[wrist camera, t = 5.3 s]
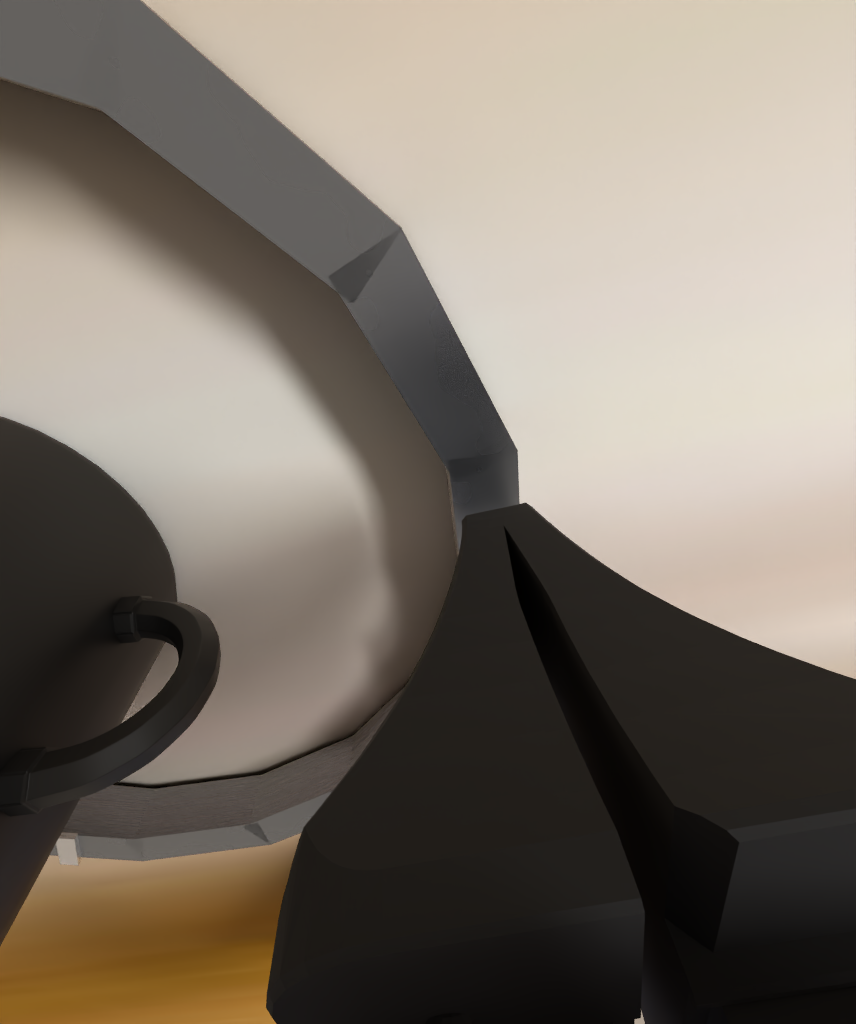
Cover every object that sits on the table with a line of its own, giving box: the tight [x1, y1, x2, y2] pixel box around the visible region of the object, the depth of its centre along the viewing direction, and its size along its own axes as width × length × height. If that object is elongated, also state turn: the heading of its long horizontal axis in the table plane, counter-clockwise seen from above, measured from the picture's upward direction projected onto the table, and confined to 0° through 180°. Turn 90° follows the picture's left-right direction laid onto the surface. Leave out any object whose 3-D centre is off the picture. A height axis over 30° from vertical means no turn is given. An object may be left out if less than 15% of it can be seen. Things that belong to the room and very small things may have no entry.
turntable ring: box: [0, 0, 519, 865], centre depth 13 cm, size 24×24×2 cm
